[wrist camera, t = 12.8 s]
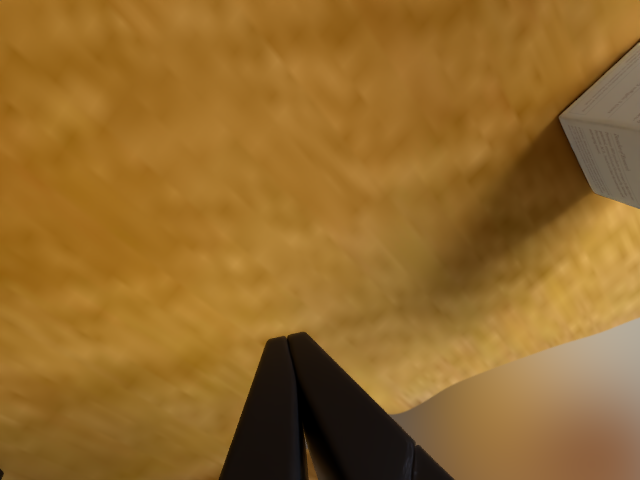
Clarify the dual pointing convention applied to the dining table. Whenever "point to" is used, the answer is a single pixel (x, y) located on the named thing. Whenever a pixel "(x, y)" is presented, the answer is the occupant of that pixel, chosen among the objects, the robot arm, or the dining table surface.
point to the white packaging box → (609, 131)
